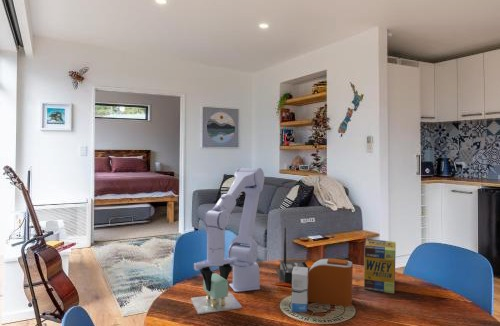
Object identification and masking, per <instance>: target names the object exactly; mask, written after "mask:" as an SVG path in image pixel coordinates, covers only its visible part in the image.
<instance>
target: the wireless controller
mask: <svg viewBox="0 0 500 326" xmlns="http://www.w3.org/2000/svg"><path fill="white" fill-rule="evenodd" d="M283 237H284V239H283V260H279V269H276V270H275V271H276V274H277V276H278V280H279V283H292V271H293V268H294V267H295V266H296V267H306V268H308V272H309V270H310V268H309V266H308V265H307V263H306V261H305V260H287V227H284V236H283Z"/></svg>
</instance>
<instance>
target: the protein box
mask: <svg viewBox="0 0 500 326" xmlns="http://www.w3.org/2000/svg"><path fill="white" fill-rule="evenodd" d="M363 259H364V265H363V267H364V271H363V273H364V274H363V289H364V290H366V291H372V292H373V291H374V292H381V293H386V294H395V283H396V241H391V240H383V239H382V240H381V239H372V238H367V241H366V243H365V247H364V258H363Z"/></svg>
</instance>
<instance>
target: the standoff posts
mask: <svg viewBox="0 0 500 326" xmlns="http://www.w3.org/2000/svg"><path fill="white" fill-rule="evenodd" d="M206 296H207V299H210V295H209V294H208V293H206ZM221 306H225V297H223V298H221ZM212 307H216V299H214V298H213V299H212Z"/></svg>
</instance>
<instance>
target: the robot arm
mask: <svg viewBox="0 0 500 326" xmlns="http://www.w3.org/2000/svg"><path fill="white" fill-rule="evenodd" d="M265 178H266V177H265V173H264V170H263V168H260V167H256V168H254V167H253V168H252V167H238V168H236V170H235V172H234V175H233V179H234V180H233V182H232V184H231V185H230V187H229V190H228V191H227V193H223V194H221V196H220V198H219V199H218V200H217V202H216V203H215V205H214V206H213V208H212V209H210V210H208V211H206V212H205V214H204V218H203V221H202V222H203V223H202V224H203V225H204V229H205V233H206V259H204V260H202V261H198V262H194V263H193V270H194V271H196V272H197V271H200V273H201V275H202V278H204V281H205V284H206V290H208V291H210V290H211V278H212V274H213V271H212V270H211V268H217V267H218V268H219V275H220V276H221V277H223V278H224V279H226V280H227V281H228V278H229V275H230V273H231V272H232V282H231V283H228V286H229V287H230V288H231V289H232V290H233V291H234V292H235V293H238V292H239V293H240V292H246V291H247V292H249V291H256V290H260V289H261V286H260V267H259V266H260V265H259V264H258V263H257V262H256V261H257V259H258V254H259V253H258V247H259V244H258V243H257V242H256V240H255V239H254V238H253V234H254V228H255V223H256V222H255V221H256V217H257V211H258V206H259V205H258V204H259V199H260V193H261V192H263V188H264V184H265ZM242 192H244V194H245V195H244V197H245V198H244V201H243V209H242V213H241V218H240V223H239V228H238V233H237V234H238V235H237V236H235V237H234V238H232V239H231V242H230V245H229V246H228V250H227V257H226V253H225V251H226V247H225V246H226V244H225V243H226V241H225V240H226V228H227V226H228V224H229V220H230V218H231V217H230V216H231V213H232V211H233V210H234V208H235V207H236V206H237V200H236V199H237V198H238V197H239V195H240V194H241V193H242ZM231 265H232V266H231Z"/></svg>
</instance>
